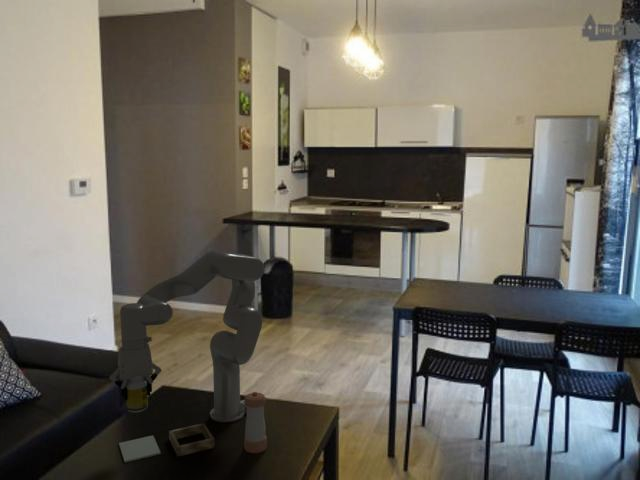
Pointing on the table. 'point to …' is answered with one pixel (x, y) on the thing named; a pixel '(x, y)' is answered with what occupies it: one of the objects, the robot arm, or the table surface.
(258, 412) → the pepper shaker
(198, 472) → the table surface
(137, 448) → the ceramic tile
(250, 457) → the table surface
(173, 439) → the oak cradle
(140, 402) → the pill bottle
